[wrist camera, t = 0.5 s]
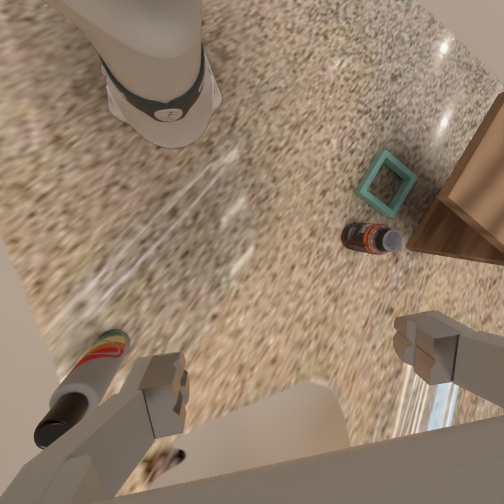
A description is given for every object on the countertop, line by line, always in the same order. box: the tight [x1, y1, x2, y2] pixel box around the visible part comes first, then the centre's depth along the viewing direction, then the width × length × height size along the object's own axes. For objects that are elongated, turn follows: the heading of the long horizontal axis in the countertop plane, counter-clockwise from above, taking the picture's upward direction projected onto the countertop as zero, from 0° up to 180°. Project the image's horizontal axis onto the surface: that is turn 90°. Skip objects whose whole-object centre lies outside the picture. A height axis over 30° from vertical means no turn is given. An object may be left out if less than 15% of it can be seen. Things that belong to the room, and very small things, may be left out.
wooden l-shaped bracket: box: [406, 92, 504, 266], centre depth 44 cm, size 21×16×22 cm
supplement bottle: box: [342, 223, 402, 255], centre depth 47 cm, size 6×6×11 cm
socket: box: [354, 149, 418, 218], centre depth 52 cm, size 10×10×2 cm
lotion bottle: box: [34, 330, 130, 450], centre depth 35 cm, size 6×6×20 cm
